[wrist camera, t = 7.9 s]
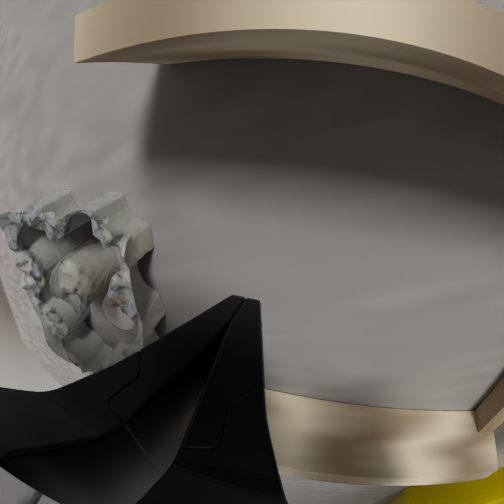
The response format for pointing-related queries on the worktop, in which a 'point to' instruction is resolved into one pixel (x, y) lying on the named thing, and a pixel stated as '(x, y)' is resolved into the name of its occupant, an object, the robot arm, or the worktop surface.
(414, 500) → the element tile
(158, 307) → the egg carton
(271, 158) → the worktop surface
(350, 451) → the open wooden frame
